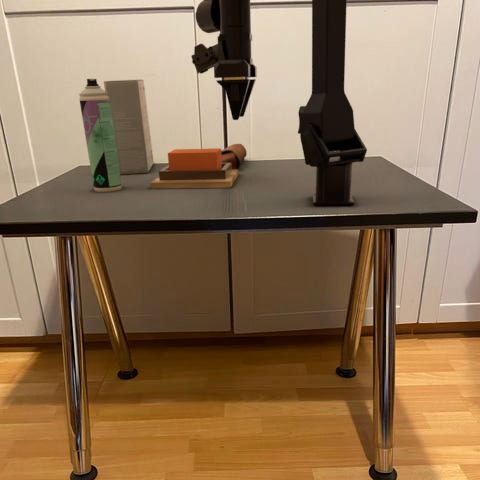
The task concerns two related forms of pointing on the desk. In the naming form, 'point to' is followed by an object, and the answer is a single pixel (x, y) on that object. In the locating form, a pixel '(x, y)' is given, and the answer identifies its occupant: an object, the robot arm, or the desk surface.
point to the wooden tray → (196, 178)
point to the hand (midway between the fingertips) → (238, 118)
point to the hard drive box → (130, 125)
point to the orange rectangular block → (195, 159)
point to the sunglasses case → (234, 155)
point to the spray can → (100, 137)
